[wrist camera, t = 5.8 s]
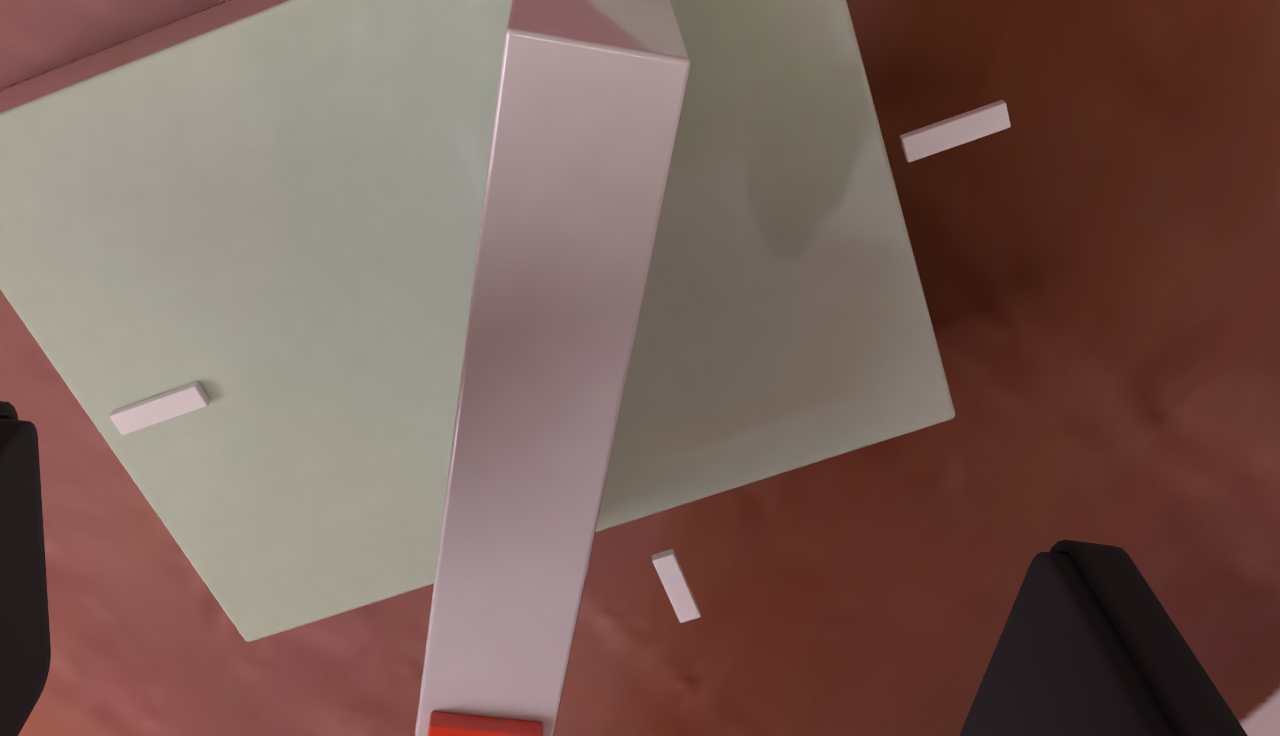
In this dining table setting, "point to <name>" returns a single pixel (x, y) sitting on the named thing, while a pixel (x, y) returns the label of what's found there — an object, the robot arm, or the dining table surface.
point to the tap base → (440, 276)
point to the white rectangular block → (547, 350)
